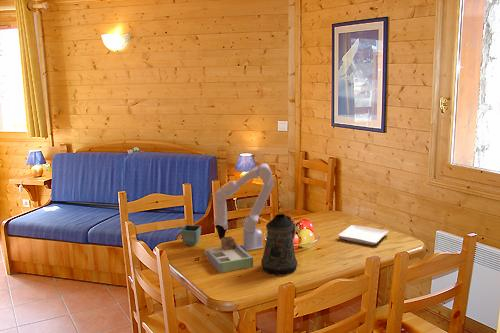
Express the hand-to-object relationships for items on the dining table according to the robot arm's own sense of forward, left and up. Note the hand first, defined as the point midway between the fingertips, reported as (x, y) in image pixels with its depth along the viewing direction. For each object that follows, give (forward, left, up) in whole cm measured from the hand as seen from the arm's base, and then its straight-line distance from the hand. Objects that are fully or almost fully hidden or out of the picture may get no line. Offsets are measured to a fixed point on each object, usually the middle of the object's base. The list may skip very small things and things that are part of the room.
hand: (221, 238), depth 249 cm
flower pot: (+12, -12, -5) cm, 18 cm away
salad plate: (-74, +20, -6) cm, 76 cm away
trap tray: (+3, +16, -5) cm, 17 cm away
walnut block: (0, +8, -3) cm, 8 cm away
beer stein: (-16, +35, -5) cm, 38 cm away
